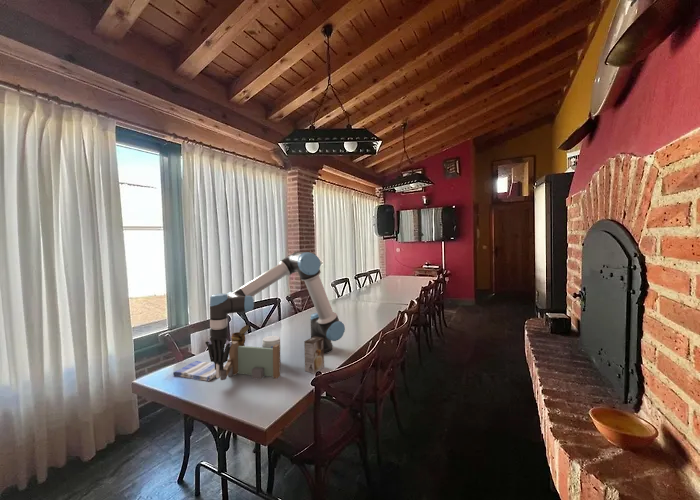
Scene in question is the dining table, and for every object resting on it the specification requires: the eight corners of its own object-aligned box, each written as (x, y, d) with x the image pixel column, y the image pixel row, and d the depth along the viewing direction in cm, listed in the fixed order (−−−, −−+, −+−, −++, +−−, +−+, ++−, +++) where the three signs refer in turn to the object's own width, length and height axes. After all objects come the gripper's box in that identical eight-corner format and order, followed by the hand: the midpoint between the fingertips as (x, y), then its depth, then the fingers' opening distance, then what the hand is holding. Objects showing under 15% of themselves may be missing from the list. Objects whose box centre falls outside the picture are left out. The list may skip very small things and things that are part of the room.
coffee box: (314, 364, 166) (314, 335, 166) (324, 367, 163) (324, 337, 162) (304, 371, 158) (304, 340, 158) (314, 373, 155) (314, 343, 154)
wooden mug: (241, 357, 177) (240, 326, 176) (226, 352, 185) (225, 323, 184) (253, 352, 185) (252, 323, 184) (239, 348, 192) (238, 319, 191)
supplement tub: (274, 369, 161) (274, 342, 160) (259, 367, 163) (258, 340, 163) (283, 362, 170) (283, 336, 169) (269, 360, 173) (268, 334, 172)
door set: (280, 375, 154) (279, 344, 153) (274, 381, 147) (273, 349, 147) (233, 371, 159) (232, 341, 158) (226, 376, 152) (225, 345, 152)
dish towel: (209, 382, 148) (209, 377, 147) (171, 376, 154) (171, 371, 154) (233, 367, 164) (232, 362, 164) (197, 363, 171) (197, 358, 171)
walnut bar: (228, 365, 154) (227, 357, 154) (233, 365, 154) (233, 357, 154) (219, 380, 138) (219, 371, 138) (225, 379, 139) (225, 371, 139)
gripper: (235, 325, 144) (236, 374, 145) (211, 323, 147) (212, 371, 148) (226, 330, 137) (226, 381, 138) (201, 328, 139) (201, 378, 141)
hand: (219, 376), depth 143 cm, fingers closed
